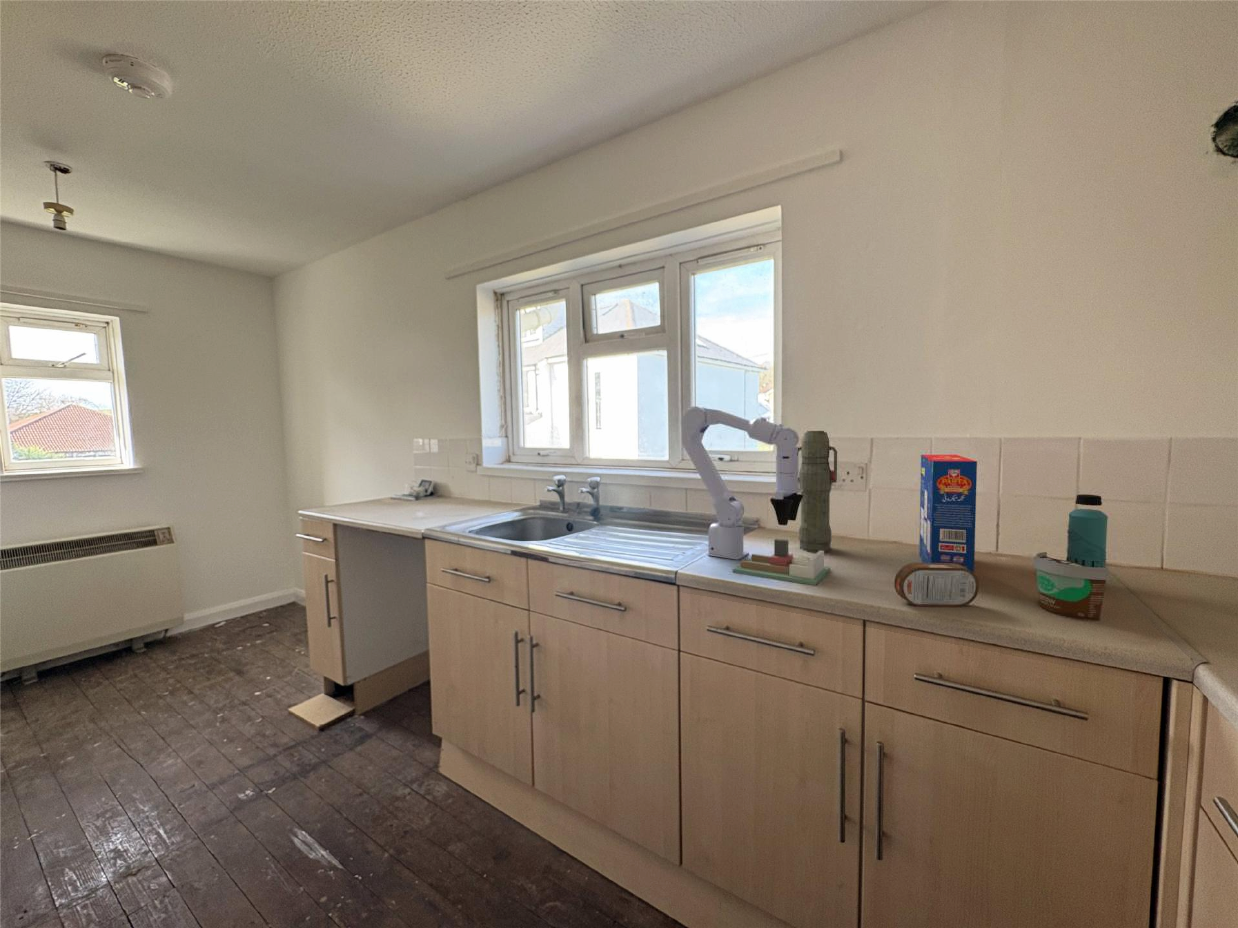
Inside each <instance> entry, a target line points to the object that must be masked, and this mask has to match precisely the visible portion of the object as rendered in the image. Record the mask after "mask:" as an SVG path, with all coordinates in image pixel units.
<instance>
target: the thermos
mask: <svg viewBox="0 0 1238 928" xmlns="http://www.w3.org/2000/svg"><path fill="white" fill-rule="evenodd" d="M797 448H798V453H797V455H798V456H799V452H800V451H801V464H800V465H801V466H800V469H799V471H798V486H799V489H803V492H800V494H803V498H802V500H801V502H800V527H799V528H798V540H799V547H800V548H799V549H800V550H801V549H803V550H802V551H804V550H805V552H809V551H812V552H811V553H817V552H819V551H820V550H821V551H824V553H827V552H831V543H832V530H831V529H832V528H831V526H830V508H831V507H830V505H831V504H830V503H831V500H830V498H831V497H830V496H831V495H830V493H831V491H832V485H833V483H834V484H835V483H837V480H838V451H837V449H836V448H835V446H831V445H830V438H829V435H828V432H826V431H825V430H806V432H804V433H803V436H802V439H801V446H800V447H797ZM830 451H833V477H832V470H831V467H830V462H829V460H830V459H829V458H830Z"/></svg>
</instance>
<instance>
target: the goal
mask: <svg viewBox="0 0 1238 928" xmlns="http://www.w3.org/2000/svg"><path fill="white" fill-rule="evenodd" d="M804 556H805V557H806V558H807V559H808V561H809V566H808V567H806V566H799V565H792V564H790V565H789V575H791V576H797V577H804V578H810V579H814V578H815V577H816V576H817V575H818V574H819V573H820V572H821V571H822V570H823V569H824V567H825V552H824V551H821V550H820V551H819V552H815V554H814V555H812V556H806V555H804Z"/></svg>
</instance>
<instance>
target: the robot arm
mask: <svg viewBox="0 0 1238 928" xmlns="http://www.w3.org/2000/svg"><path fill="white" fill-rule="evenodd" d="M680 423H681V427H682V431H681V436H682V437H681V443H682V446H683V448H684V450H685V451H686V452H687V455H688V457H689V458H690V460H691V462H692V464H693V465H694V468H695V469H696V471H697V473H698V474H699V476H700V478H701V479H702V480H701V481H702V482H703V483H704V486H705V487H706V489H707V491H708V493H709V494H710V497H711V498H712V499H711V500H712V506H713V508H714V510H715V518H716V519H717V523H716V522H714V523H711V524H710V525H709V528H708V534H707V535H708V538H707V540H708V542H707V543H708V544H707V545H708V552H707V556H710V557H711V556H712V557H716V558H723V559H724V558H725V559H733V560H740V559H742V558H744V557H745V556H747V555H749V552H748V551H745V550H744V522H743V521H742V517H743V516H744V513H745V506H744V505H743V503H742V502H741V501H740V500H738V499H737V497H735V495H734V494H733V492H731V491H730V489H729V488H728V487H727V484H726V483H725V482H724V479H723V478H722V476H721V474H720V473H719V471H718V469H717V467H716V466H715V464H714V462H713V460H712V458H711V456H710V455H709V453H708V451H707V450H706V448H705V446H704V444H703V442H702V441H703V438H704V436H705V432H706V431H707V429H708V428H710V426H712V425H713V426H714V425H724V426H726V427H730V428H733V429H736V430H737V429H738V430H740V431H744V432H746V433H747V436H748V437H749V438H750V439H752V440H756V441H758V442H761V443H764V444H767V445H770V446H773V445H775V446H776V455H775V490H774V497H771V498H769V501H770V504H771V505H772V507H773V510H774V513H775V517H776V519H777V525H778V526H788V524H789V523H788V522H789V521H793V522H795V521H796V520H797V516H798V512H799V508H800V506H801V500H802V498H803V494H801V492H803V489H799V483H798V478H799V452H798V448H799V447H798V444H799V441H800V440H799V439H800V436H799V433H798V432H797V431H796V430H795V429H793V428H791V427H784V424H782V423H779V424H778V423H774V422H771V421H767V418H765V417H761V418H758V417H757V418H754V419H752V420H748V419H745V418H743V417H741V416H737V415H734V414H731V413H729V412H726V411H723V410H721V409H713V408H707V407H703V406H702V407H699V406H695V405H694V406H689V407H688V408H687V409H685V411H684V413H683V415H682V418H681V420H680ZM797 453H798V455H797ZM799 493H800V494H799Z"/></svg>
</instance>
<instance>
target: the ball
mask: <svg viewBox="0 0 1238 928" xmlns="http://www.w3.org/2000/svg"><path fill="white" fill-rule="evenodd" d="M805 556H806V555H804V554H796V555H793V559H792V565H799V566H806V567H808V566H809V561H808V559H807V558H806V557H807V556H806V557H805Z"/></svg>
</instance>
